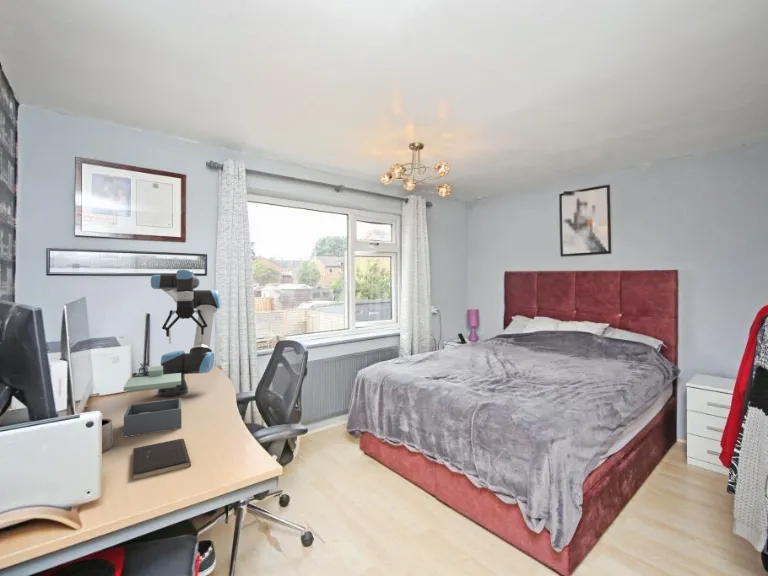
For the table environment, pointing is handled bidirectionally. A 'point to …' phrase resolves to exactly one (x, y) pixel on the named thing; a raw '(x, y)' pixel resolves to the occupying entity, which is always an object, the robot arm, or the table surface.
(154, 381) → the lid
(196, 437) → the table surface
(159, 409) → the tub
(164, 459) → the hardcover book
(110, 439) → the planter
